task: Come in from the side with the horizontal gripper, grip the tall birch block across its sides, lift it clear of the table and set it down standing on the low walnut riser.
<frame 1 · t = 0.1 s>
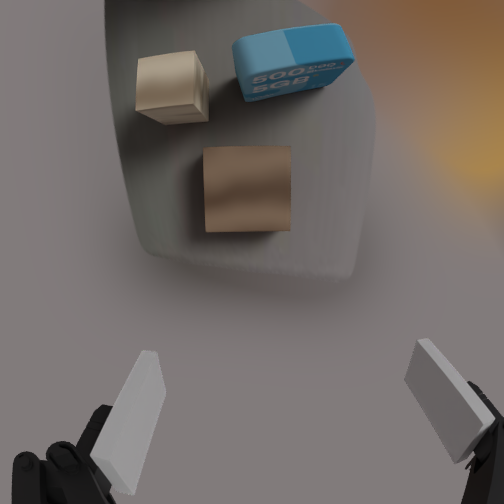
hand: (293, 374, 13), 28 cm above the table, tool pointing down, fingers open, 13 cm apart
walnut riser: (247, 186, 38), on the table
birch block: (186, 102, 35), on the table
data package: (283, 79, 34), on the table
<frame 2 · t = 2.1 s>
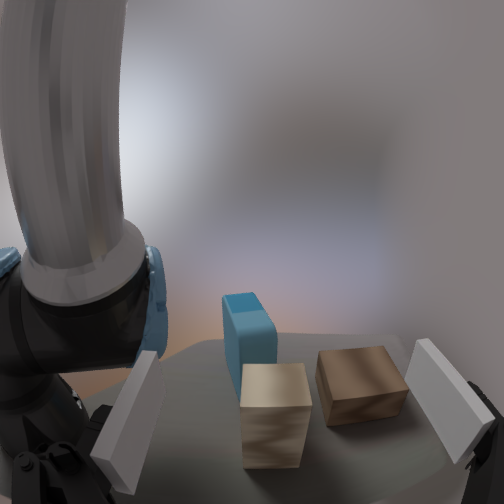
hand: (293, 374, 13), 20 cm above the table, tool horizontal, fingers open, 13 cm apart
walnut riser: (354, 396, 35), on the table
birch block: (270, 448, 28), on the table
data package: (247, 380, 40), on the table
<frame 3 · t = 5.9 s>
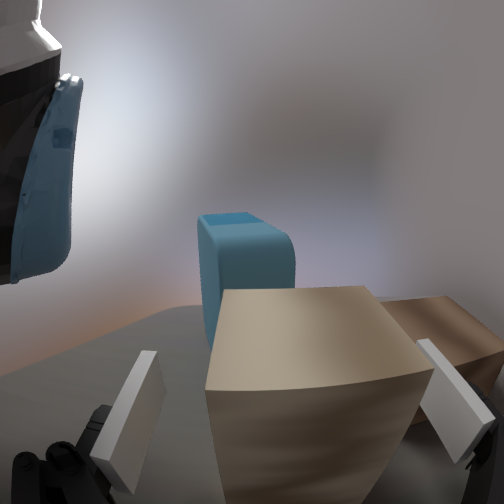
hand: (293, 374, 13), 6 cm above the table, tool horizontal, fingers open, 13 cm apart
walnut riser: (417, 376, 20), on the table
birch block: (288, 484, 12), on the table
data package: (239, 360, 25), on the table
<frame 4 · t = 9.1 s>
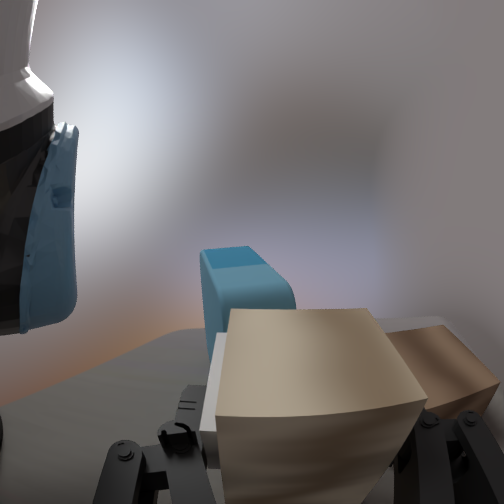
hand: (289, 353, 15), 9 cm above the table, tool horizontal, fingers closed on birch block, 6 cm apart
walnut riser: (411, 404, 20), on the table
birch block: (284, 491, 12), point 2 cm above the table, touching gripper
data package: (241, 387, 25), on the table
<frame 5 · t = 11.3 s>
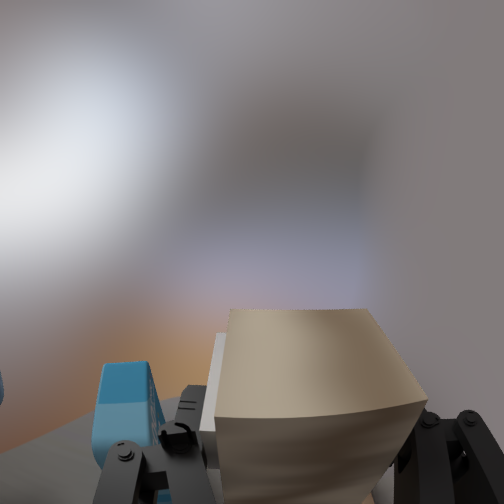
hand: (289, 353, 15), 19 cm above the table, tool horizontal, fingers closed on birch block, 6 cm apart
birch block: (283, 491, 12), point 12 cm above the table, touching gripper
data package: (154, 471, 23), on the table
when the fingers open (13 cm above the table, at t = 13.9 s): birch block stays where it is, resting on walnut riser.
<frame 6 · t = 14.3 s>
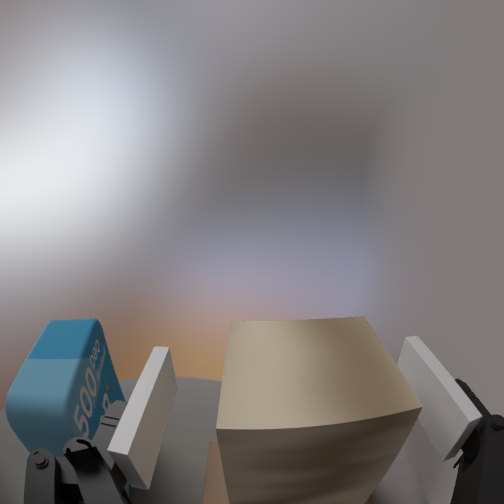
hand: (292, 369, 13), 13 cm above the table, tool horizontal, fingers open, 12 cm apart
birch block: (288, 494, 13), point 5 cm above the table, touching walnut riser
data package: (106, 458, 18), on the table
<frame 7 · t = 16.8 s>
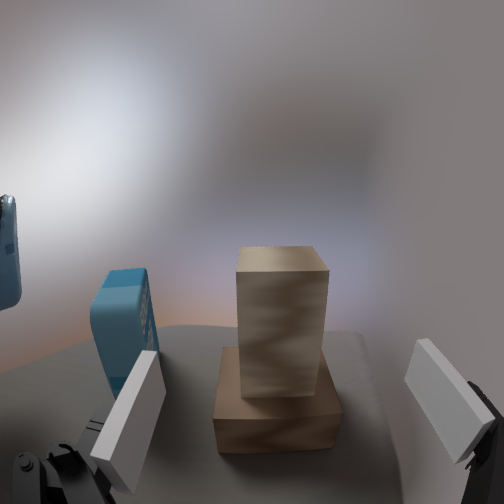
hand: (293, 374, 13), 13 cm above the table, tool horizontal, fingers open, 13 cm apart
walnut riser: (273, 414, 25), on the table
birch block: (275, 374, 24), point 5 cm above the table, touching walnut riser
data package: (142, 378, 30), on the table
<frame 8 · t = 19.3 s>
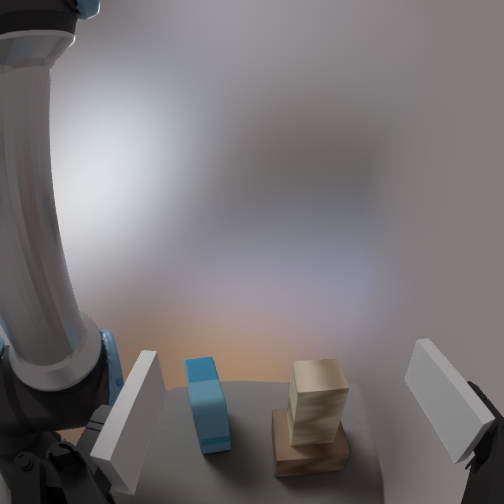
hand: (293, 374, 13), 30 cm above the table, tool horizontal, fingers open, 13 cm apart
walnut riser: (305, 449, 36), on the table
birch block: (309, 429, 35), point 5 cm above the table, touching walnut riser
data package: (210, 429, 41), on the table
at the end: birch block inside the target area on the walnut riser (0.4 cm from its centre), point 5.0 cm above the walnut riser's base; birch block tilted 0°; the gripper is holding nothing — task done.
